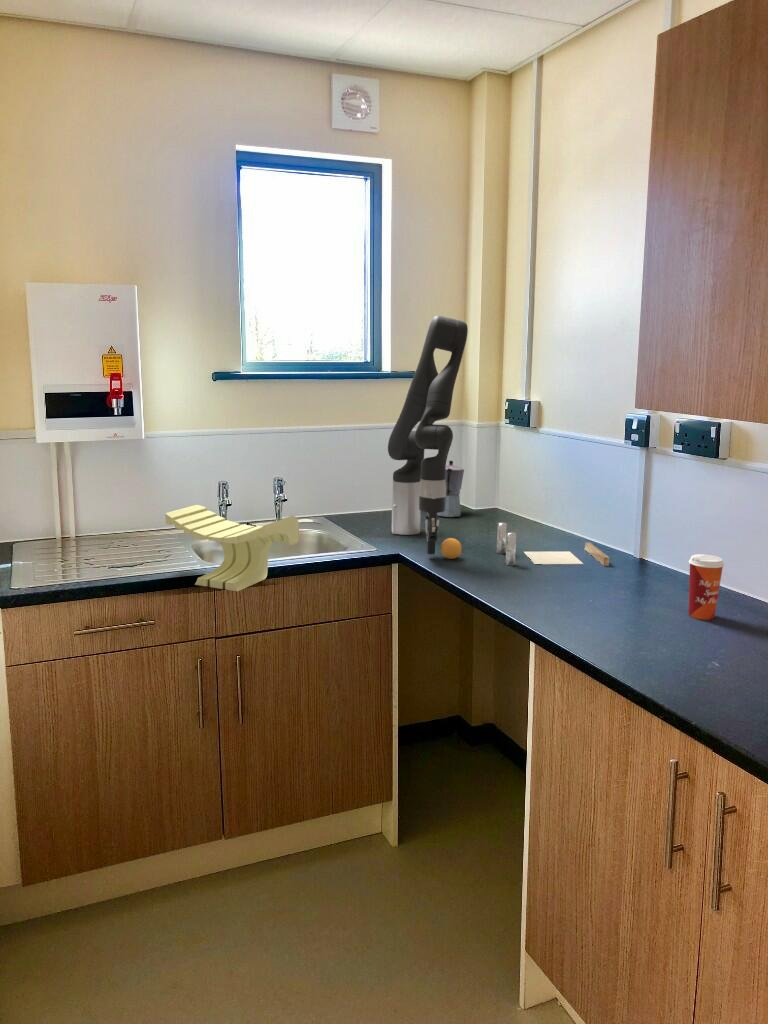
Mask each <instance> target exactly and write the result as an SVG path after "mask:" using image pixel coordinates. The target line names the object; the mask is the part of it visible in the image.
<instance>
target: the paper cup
mask: <svg viewBox="0 0 768 1024" xmlns="http://www.w3.org/2000/svg"><path fill="white" fill-rule="evenodd" d="M688 563H689V582H688V583H689V586H688V616H689V617H690V616H691V618H692V617H693V619H695V618H696V619H695V620H700V619H701V620H702V621H711V620H710V619H712V620H714V619H715V615H716V610H717V605H718V599H719V594H720V593H719V592H720V588H721V587H720V585H721V579H722V574H723V567H725V563H724V560H723V558H721V557H720V556H717V555H714V554H713V555H712V554H705V553H704V554H703V553H701V554H700V553H696V554H692V555H691V556H690V559H689V560H688ZM713 618H714V619H713Z"/></svg>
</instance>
